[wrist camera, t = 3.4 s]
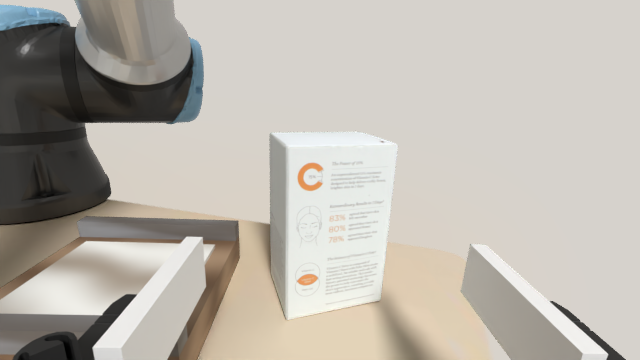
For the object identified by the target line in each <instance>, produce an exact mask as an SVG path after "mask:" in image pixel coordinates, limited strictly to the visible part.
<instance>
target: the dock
mask: <svg viewBox="0 0 640 360" xmlns="http://www.w3.org/2000/svg"><path fill="white" fill-rule="evenodd" d="M77 224H78V229H79V235H80V237H79V238H77V239H76V240H74V241H73V242H71V243H70V244H68V245H66V246H65V247H63V248H62V249H60V250H59V251H57V252H56V253H54V254H52V255H51V256H49V257H48V258H46V259H45V260H43V261H42V262H40V263H38V264H37V265H35V266H34V267H32V268H31V269H29V270H28V271H26V272H25V273H23V274H21V275H20V276H18V277H17V278H15V279H14V280H12V281H11V282H9V283H7V284H6V285H4V286H3V287H1V288H0V360H12V359H13V357H14V355H15V354H16V353H17V352H18V351H19V350H20V349H21V348H22V347H24V346H25V345H27V344H28V343H30V342H31V341H33V340H35V339H37V338H40V337H42V336H44V335H47V334H51V333H55V332H64V331H67V332H71V333H74V334H75V336H76V337H77V340H78V339H79V338H80V337H81V336H82V335H83V334H84V333H85V332H86V331H87V330H88V329H89V328H90V326H91V325H92V324H94V323H95V321H96V320H97V319H98V318H99V317H100V316H102V315H103V313H104V311H105V310H106V309H107V308H108V307H109V306H110V305H111V304H112V303H113V302H115V301H116V300H118V299H119V298H121V297H122V296H124V295H126V294H138V293H139V292H140V291H141V290H142V289H143V287H144V286H145V285H146V284H147V283H148V281H149V280H150V279H151V278H152V277H153V276H154V274H155V273H156V272H157V271H158V270H159V268H160V267H161V266H162V265H163V264H164V263H165V261H166V260H167V259H168V258H169V257H170V255H171V254H172V253H173V252H174V251H175V250H176V248H177V247H178V246H179V245H180V244H181V242H182V241H183V240H184V239H185V238H186V237H203V249H204V264H205V278H206V288H205V289H204V291H203V293H202V295H201V297H200V299H199V301H198V303H197V304H196V306H195V308H194V310H193V312H192V314H191V316H190V318H189V319H188V321H187V323H186V325H185V327H184V329H183V331H182V333H181V335H180V336H179V338H178V340H177V342H176V344H175V346H174V348H173V350H172V351H171V353H170V355H169V357H168V359H167V360H197V358H198V356H199V353H200V351H201V349H202V346H203V344H204V342H205V339H206V337H207V334H208V332H209V330H210V327H211V325H212V322H213V320H214V318H215V315H216V313H217V311H218V308H219V306H220V303H221V301H222V299H223V296H224V294H225V292H226V289H227V287H228V284H229V282H230V280H231V277H232V275H233V273H234V270H235V268H236V265H237V263H238V261H239V258H240V256H239V226H238V221H229V220H196V219H162V218H128V217H95V216H86V217H84V218H82V219H81V220H79V221H77Z"/></svg>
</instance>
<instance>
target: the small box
mask: <svg viewBox="0 0 640 360" xmlns="http://www.w3.org/2000/svg"><path fill="white" fill-rule="evenodd" d="M397 150H398V145H397V144H395V143H393V142H391V141H388V140H385V139H382V138H378V137H376V136H372V135H369V134H365V133H361V132H289V133H288V132H285V133H284V132H282V133H270V243H271V275H272V278H273V281H274V284H275V287H276V290H277V293H278V296H279V299H280V302H281V305H282V308H283V311H284V315H285V317H286V319H287V320H291V319H295V318H299V317H304V316H309V315H313V314H318V313H323V312H328V311H332V310H337V309H342V308H347V307H351V306H356V305H361V304H366V303H370V302H375V301H380V300H381V292H382V283H383V274H384V266H385V257H386V249H387V239H388V229H389V221H390V211H391V203H392V194H393V185H394V176H395V168H396V159H397Z"/></svg>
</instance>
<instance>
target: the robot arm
mask: <svg viewBox="0 0 640 360" xmlns="http://www.w3.org/2000/svg"><path fill="white" fill-rule="evenodd" d="M75 3H76V5H77V7H78V9H79V12H80V14H81V18H80V20H79V22H78V24H77V27H70V24H69V22H68V21H67V19H66V18H65V16H64V15H62V14H61V13H58V12H55V11H51V10H47V9H42V8H26V7H22V6H13V5H0V224H11V223H22V222H30V221H37V220H43V219H49V218H54V217H59V216H63V215H67V214H71V213H75V212H78V211H81V210H84V209H87V208H90V207H92V206H95V205H97V204H99V203H101V202H103V201H105V200H106V199H107V198H108V197H109V196H110V194H111V188H110V182H109V178H108V176H107V175H106V174H105V172H104V170H103V168H102V166H101V164H100V163H99V161H98V159H97V157H96V155H95V154H94V152H93V150H92V149H91V147H90V145H89V143H88V140H87V135H86V129H85V123H167V124H174V123H177V122H190V121H193V120H194V119H195V118H196V117H197V116H198V114H199V112H200V109H201V104H202V96H203V95H202V94H203V92H202V87H203V80H204V79H203V77H204V72H203V57H202V50H201V46H200V44H199V43H198V42H197V41H196V40H194V39H191V38H190V37H188V34H187V32H186V30H185V28H184V27H183V25H182V24H181V23H180V22H179V21H178V20H177V19H176V18H175V14H174V3H173V0H75ZM205 288H206V278H205V264H204V249H203V237H186V238H185V239H184V240H183V241H182V242H181V244H180V245H179V246H178V247H177V248H176V250H175V251H174V252H173V253H172V254H171V255H170V257H169V258H168V259H167V260H166V261H165V263H164V264H163V265H162V266H161V267H160V268H159V270H158V271H157V272H156V273H155V274H154V276H153V277H152V278H151V279H150V280H149V281H148V283H147V284H146V285H145V286H144V287H143V289H142V290H141V291H140V292H139V293H138V294H126V295H124V296H122V297H121V298H119V299H118V300H116V301H115V302H113V303H112V304H111V305H110V306H109V307H108V308H107V309H106V310H105V311H104V313H103V315H102V316H100V317H99V318H98V319H97V320H96V321H95V323H94V324H92V325H91V326H90V328H89V329H88V330H87V331H86V332H85V333H84V334H83V335H82V336H81V337H80V338H79V339H78V340H77V337H76V336H75V334H74V333H71V332H67V331H64V332H55V333H51V334H47V335H44V336H42V337H40V338H37V339H35V340H33V341H31V342H30V343H28V344H27V345H25V346H24V347H22V348H21V349H20V350H19V351H18V352H17V353H16V354H15V355H14V357H13V359H12V360H167V359H168V357H169V355H170V353H171V351H172V350H173V348H174V346H175V344H176V342H177V340H178V338H179V336H180V335H181V333H182V331H183V329H184V327H185V325H186V323H187V321H188V319H189V318H190V316H191V314H192V312H193V310H194V308H195V306H196V304H197V303H198V301H199V299H200V297H201V295H202V293H203V291H204V289H205ZM461 293H462V294H463V295H464V297H465V298H466V299H467V301H468V302H469V303H470V305H471V306H472V307H473V309H474V310H475V312H476V313H477V314H478V316H479V317H480V318H481V320H482V321H483V322H484V324H485V325H486V326H487V328H488V329H489V330H490V332H491V333H492V334H493V336H494V337H495V339H496V340H497V341H498V343H499V344H500V345H501V347H502V348H503V349H504V351H505V352H506V353H507V355H508V356H509V358H510V359H511V360H626V359H624V358H623V357H622V356H621V355H620V354H619V353H617V352H616V351H615V350H614V349H613V348H611V347H610V346H609V345H608V344H607V343H606V342H605V341H603V340H602V339H601V338H600V337H599V336H598V335H596V334H595V333H594V332H593V331H590V329H589V328H588V327H587V326H586V325H585V324H584V323H582V322H580V320H579V319H578V318H577V317H576V316H574V315H573V314H572V313H571V312H570V311H568V310H567V309H565V308H564V307H562V306H560V305H558V304H557V303H555V302H553V301H548V300H547V299H546V298H545V297H544V296H543V295H541V294H540V293H539V292H538V291H537V290H536V289H535V288H534V287H532V286H531V285H530V284H529V283H528V282H527V281H526V280H525V279H523V278H522V277H521V276H520V275H519V274H518V273H517V272H516V271H515V270H513V269H512V268H511V267H510V266H509V265H508V264H507V263H506V262H504V261H503V260H502V259H501V258H500V257H499V256H498V255H497V254H495V253H494V252H493V251H492V250H491V249H490V248H489V247H487V245H485V244H470V248H469V253H468V258H467V263H466V268H465V273H464V278H463V283H462V288H461Z"/></svg>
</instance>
